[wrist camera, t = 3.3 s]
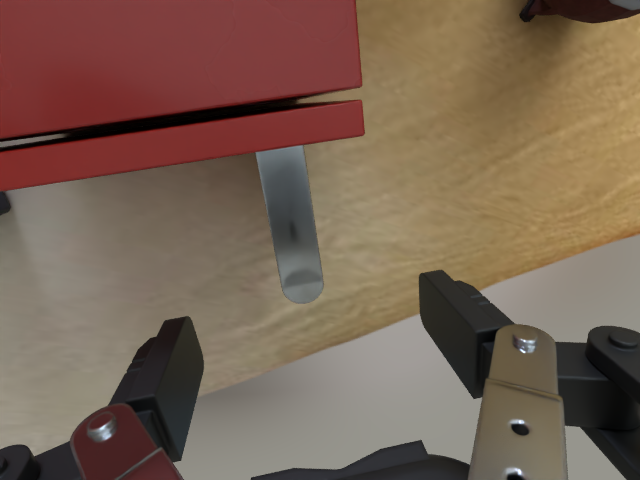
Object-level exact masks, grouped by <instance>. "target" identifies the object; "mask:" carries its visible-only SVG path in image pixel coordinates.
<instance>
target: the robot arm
mask: <svg viewBox="0 0 640 480" xmlns="http://www.w3.org/2000/svg"><path fill="white" fill-rule="evenodd" d="M419 302H420V316H421V320H422V323H423V325H424V328H425V329H426V331H427V332H428V334H429V335H430V337H431V338H432V339H433V341H434V342H435V344H436V345H437V347H438V348H439V349H440V351H441V352H442V354H443V355H444V357H445V358H446V359H447V361H448V362H449V364H450V365H451V367H452V368H453V370H454V371H455V373H456V374H457V376H458V377H459V378H460V380H461V381H462V383H463V384H464V385H465V387H466V388H467V390H468V391H469V393H470V394H471V396H472V397H473V398H474V399H476V398H481V397H482V403H481V408H480V414H479V419H478V424H477V430H476V436H475V441H474V447H473V453H472V458H471V463H470V465H469V464H467V463H464V462H461V461H459V460H456V459H453V458H449V457H445V456H440V455H432V454H427V451H426V449H425V447H424V445H423V443H422V440H419V441H415V442H410V443H405V444H401V445H397V446H392V447H387V448H383V449H380V450H378V451H376V452H374V453H372V454H370V455H368V456H366V457H364V458H362V459H360V460H358V461H356V462H354V463H352V464H350V465H348V466H347V467H345V468H342V469H337V470H332V469H331V470H330V469H302V468H292V469H288V470H283V471H279V472H274V473H270V474H265V475H261V476H256V477H252V478H251V480H568V472H567V471H568V470H567V454H566V437H565V426H576V427H580V428H581V429H582V430H583V431H584V432H585V433H586V434H587V435H588V436H589V438H590V439H591V440H592V441H593V442H594V443H595V444H596V446H597V447H598V448H599V449H600V450H601V451H602V452H603V454H604V455H605V456H606V457H607V458H608V459H609V460H610V462H611V463H612V464H613V465H614V466H615V467H616V468H617V469H618V471H619V472H620V473H621V474H622V475H623V476H624V477H625V478H626V479H627V480H640V333H638V332H636V331H633V330H630V329H626V328H622V327H616V326H600V327H596V328H594V329H592V330H590V332H589V334H588V339H587V343H573V342H572V343H571V342H555V341H554V339H553V338H552V337H551V336H550V335H549V334H547V333H546V332H544V331H542V330H540V329H538V328H535V327H532V326H528V325H521V324H515V323H514V322H512V321H511V320H510V319H509V318H508V317H507V316H506V315H505V314H503V313H502V312H501V311H500V310H499V309H498V308H497V307H495V305H493V304H492V303H490V301H489V300H488V299H487V298H486V297H484V296H482V294H481V293H480V292H479V291H478V290H477V289H475V288H474V287H473V286H471V285H469V284H467V283H464V282H462V281H460V280H459V281H454V280H453V279H452V278H450V277H449V276H448V275H447V274H446V273H445V272H444V271H443V270H436V271H431V272H425V273H421V274H420V275H419ZM203 370H204V360H203V354H202V351H201V347H200V344H199V341H198V338H197V335H196V332H195V329H194V325H193V322H192V320H191V318H190V317H189V316H185V317H180V318H174V319H169V320H165V321H164V323H163V325H162V327H161V329H160V331H159V333H158V335H157V337H153V338H150V339H149V340H148V341H147V342H146V343H144V344H143V345H142V346H141V347H140V348H139V349H138V351H137V353H136V355H135V356H134V358H133V360H132V363H131V364H130V366H129V368H128V369H127V373H125V375H124V377H123V379H122V380H121V382H120V384H119V386H118V388H117V390H116V392H115V393H114V395H113V397H112V399H111V401H110V403H109V404H108V406H106V407H104V408H101V409H99V410H98V411H96V412H94V413H93V414H91V415H90V416H88V417H87V418H86V419H84V420H83V421H82V422H81V423H80V424H79V425H78V426H77V428H76V429H75V430H74V432H73V434H72V436H71V438H70V441H69V442H67V443H65V444H62V445H60V446H58V447H55V448H53V449H51V450H48V451H46V452H44V453H42V454H39V455H37V456H35V457H34V455H33V454H32V452H31V451H30V449H29V448H28V447H27V446H25V445H12V446H8V447H5V448H3V449H0V480H184V479H183V478H182V476H181V475H180V473H179V472H178V470H177V469H176V467H175V466H174V464H173V463H172V462H177V461H181V458H182V454H183V451H184V447H185V442H186V438H187V435H188V430H189V427H190V423H191V419H192V415H193V411H194V407H195V403H196V399H197V395H198V391H199V387H200V383H201V379H202V375H203Z"/></svg>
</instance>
